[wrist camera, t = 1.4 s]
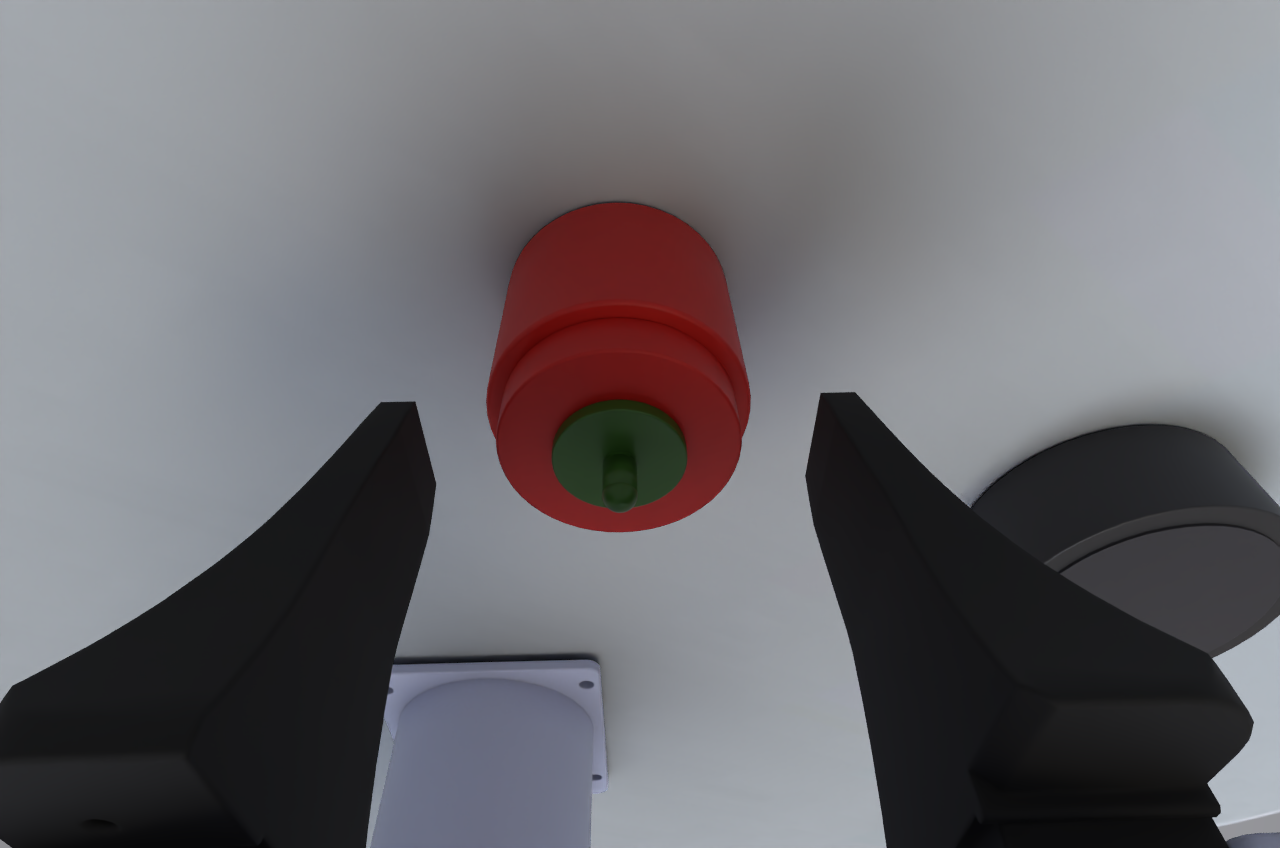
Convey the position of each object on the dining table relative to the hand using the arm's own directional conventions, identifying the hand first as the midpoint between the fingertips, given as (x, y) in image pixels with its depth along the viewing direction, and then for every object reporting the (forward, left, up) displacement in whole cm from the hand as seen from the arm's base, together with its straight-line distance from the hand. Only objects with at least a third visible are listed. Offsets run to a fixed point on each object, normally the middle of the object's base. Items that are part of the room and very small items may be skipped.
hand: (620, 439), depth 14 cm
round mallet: (-17, -14, -5) cm, 23 cm away
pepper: (0, 0, -5) cm, 5 cm away
